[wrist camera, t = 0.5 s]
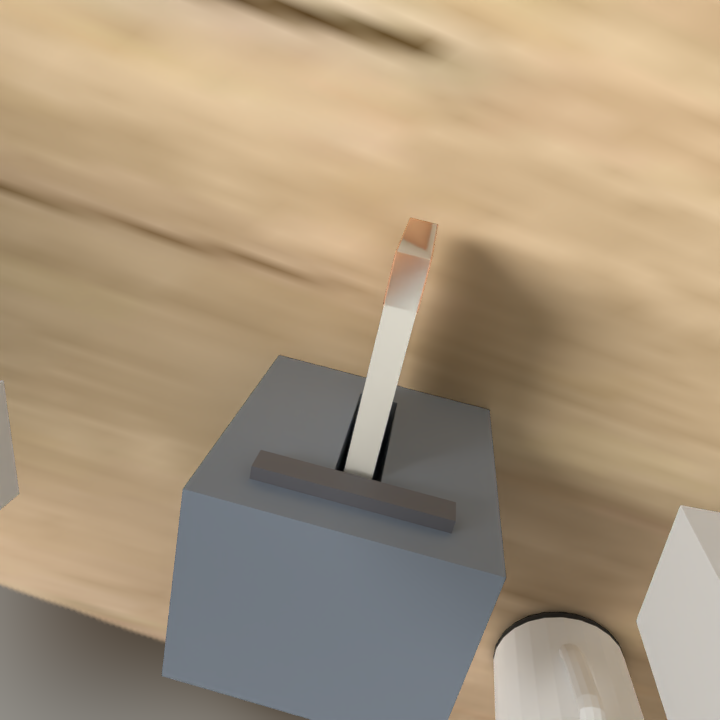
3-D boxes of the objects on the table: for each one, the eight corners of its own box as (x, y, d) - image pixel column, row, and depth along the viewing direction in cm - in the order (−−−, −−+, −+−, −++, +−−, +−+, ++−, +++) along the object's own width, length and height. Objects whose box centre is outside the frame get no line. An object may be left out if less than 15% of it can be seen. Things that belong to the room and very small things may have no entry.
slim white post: (334, 526, 35) (306, 620, 29) (410, 217, 28) (395, 251, 21) (356, 532, 35) (333, 627, 29) (438, 224, 28) (431, 260, 21)
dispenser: (254, 498, 38) (161, 675, 26) (280, 345, 34) (184, 475, 22) (441, 549, 38) (433, 755, 26) (492, 400, 33) (511, 565, 21)
